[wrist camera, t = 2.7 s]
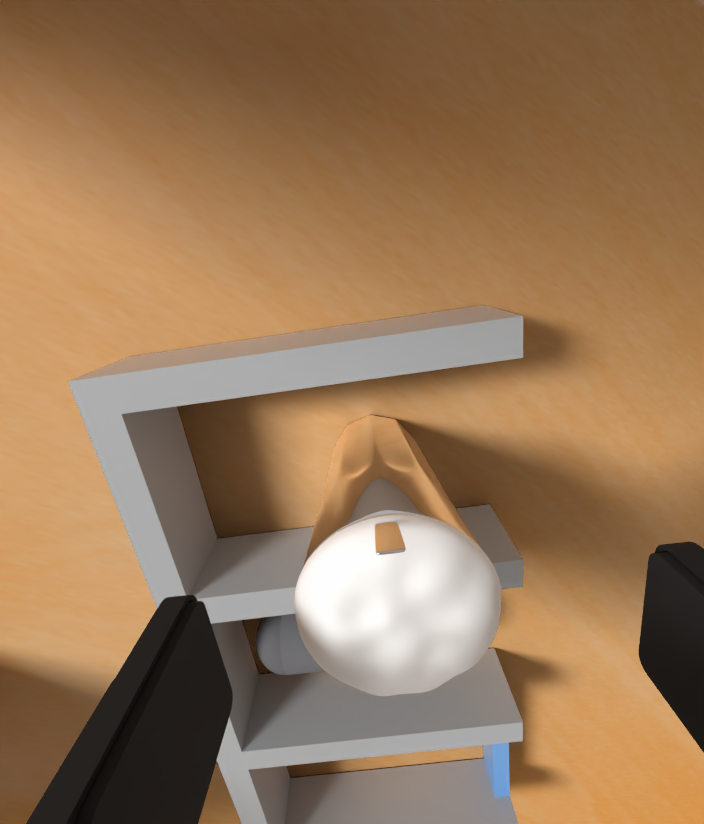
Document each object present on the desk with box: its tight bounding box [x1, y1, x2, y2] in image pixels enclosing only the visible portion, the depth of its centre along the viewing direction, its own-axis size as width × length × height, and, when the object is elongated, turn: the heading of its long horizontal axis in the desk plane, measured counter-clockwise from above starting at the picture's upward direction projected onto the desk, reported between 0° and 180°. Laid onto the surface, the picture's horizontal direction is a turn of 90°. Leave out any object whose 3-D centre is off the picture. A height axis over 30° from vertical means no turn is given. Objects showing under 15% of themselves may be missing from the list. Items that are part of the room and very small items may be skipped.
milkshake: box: [294, 415, 501, 696], centre depth 12 cm, size 5×5×10 cm
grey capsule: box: [256, 614, 325, 675], centre depth 18 cm, size 3×10×3 cm, turn 98°
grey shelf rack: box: [68, 305, 523, 824], centre depth 18 cm, size 26×13×4 cm, turn 8°
